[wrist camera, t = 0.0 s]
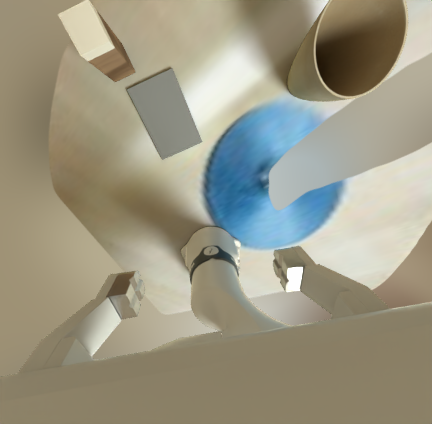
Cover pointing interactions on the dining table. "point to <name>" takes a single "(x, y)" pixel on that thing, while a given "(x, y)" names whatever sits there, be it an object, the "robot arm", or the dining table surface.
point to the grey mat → (165, 113)
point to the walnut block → (96, 40)
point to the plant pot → (349, 49)
